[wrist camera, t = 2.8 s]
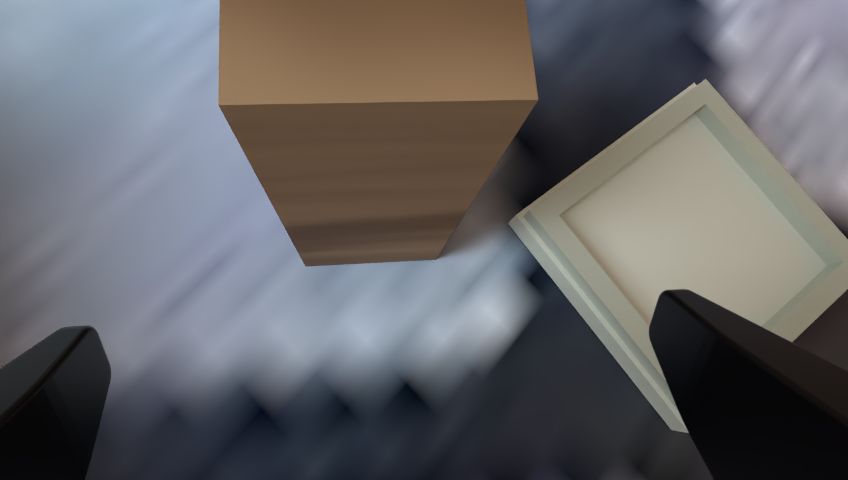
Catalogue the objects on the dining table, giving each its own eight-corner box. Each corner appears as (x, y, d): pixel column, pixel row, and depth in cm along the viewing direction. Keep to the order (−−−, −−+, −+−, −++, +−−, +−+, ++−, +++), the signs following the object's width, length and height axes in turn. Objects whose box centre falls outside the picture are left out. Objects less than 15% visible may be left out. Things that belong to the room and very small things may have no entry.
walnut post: (435, 259, 21) (538, 99, 9) (305, 266, 21) (218, 105, 8) (426, 140, 23) (504, -150, 10) (302, 143, 22) (221, -162, 9)
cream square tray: (834, 276, 23) (878, 267, 21) (671, 430, 21) (702, 435, 19) (678, 96, 24) (705, 72, 22) (507, 223, 22) (521, 208, 20)
